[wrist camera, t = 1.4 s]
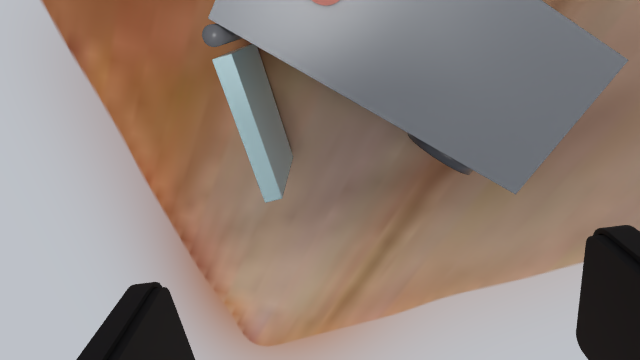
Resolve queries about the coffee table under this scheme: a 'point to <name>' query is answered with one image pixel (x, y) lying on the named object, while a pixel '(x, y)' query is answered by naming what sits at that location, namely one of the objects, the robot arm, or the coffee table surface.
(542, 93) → the housing
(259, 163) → the side door
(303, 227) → the coffee table surface
